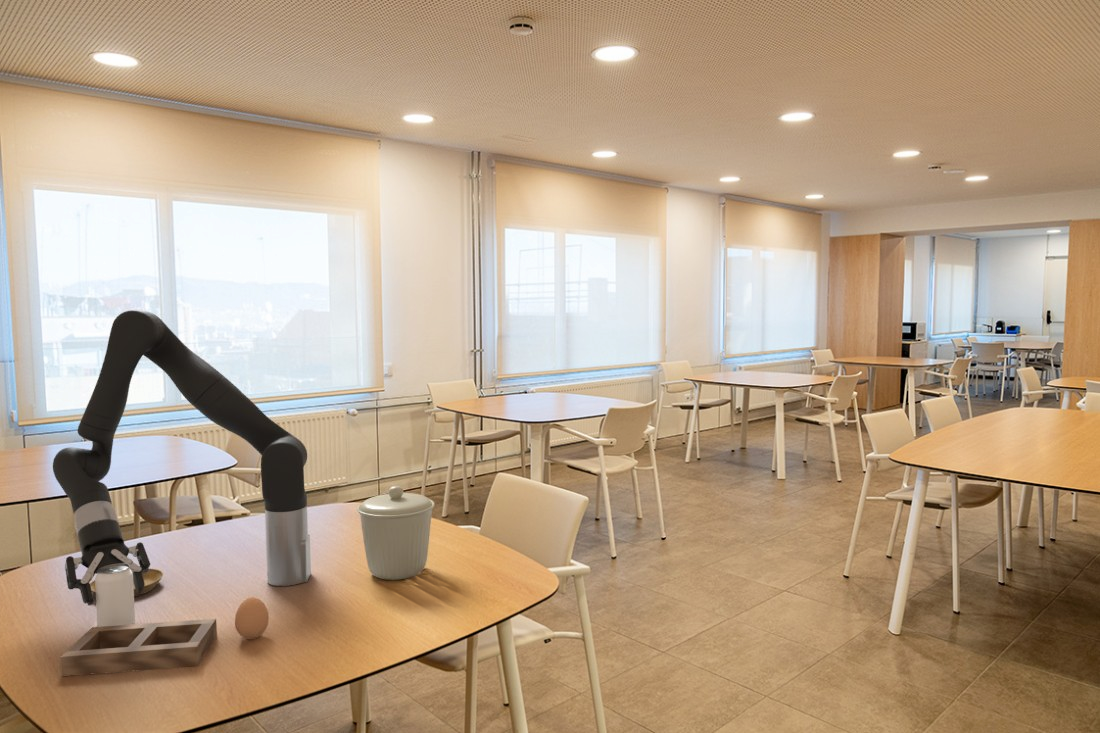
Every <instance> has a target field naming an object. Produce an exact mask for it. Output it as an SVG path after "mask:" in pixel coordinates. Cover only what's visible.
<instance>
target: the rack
mask: <svg viewBox="0 0 1100 733" xmlns="http://www.w3.org/2000/svg"><path fill="white" fill-rule="evenodd" d="M217 632H218V629H217V618H206V619H193V620H177V621H176V620H175V621H164V622H163V621H162V622H149V623H134V624H132V625H118V626H104V627H98V626H91V627H90V628H89V629H88V630H87V632H85V633H84V634H83V635H82V636H81V637H80V638H78V640H77V641H76V642H75V643H73V645H71V646H70V647H69V648H68V649H67V650H65V652H64V653H63V654H62V655H61V656H60V657H59V658H60V673H61V677H62V676H63V677H71V676H70V675H75V676H84V675H83V674H88V675H92V674H91V673H100V674H106V673H105V672H108V673H107V674H109V672H113V673H122V672H121V671H125V672H133V671H132V670H135V671H136V670H138V671H149V670H160V669H161V668H162V669H163V670H164V669H173V668H176V669H177V668H186V667H187V668H189V667H198V666H199V664H200V662H201V661H202V659H203V658H204V657H205V656H206V654H207V652H208V651H209V650H210V647H211V646H212V644H213V643H214V641H215V640H216V638H217V637H218V633H217ZM135 671H134V672H135ZM136 672H137V671H136Z"/></svg>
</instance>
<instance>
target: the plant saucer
mask: <svg viewBox="0 0 1100 733" xmlns="http://www.w3.org/2000/svg"><path fill="white" fill-rule="evenodd" d="M142 576H143V580H144V583H145V585H144V588H143V590H142V592H141V593H139V594H137V593H136V590H135V586H134V582H133V587H134V597H136V596H137V597H138V596H140V594H141V595H143V594H146V593H148V592H149V590H150V591H151V590H153V589H154V588H156V586H157V585H158V584H159V582H160V581H161V580H162V579H163V576H164V572H163V571H162V570H160V569H156V568H149V570H148V572H146V573H143V574H142ZM89 583H90V586H91V591H92V594H94V595H95V596H96V591H95V579H94V580H91V581H90V582H89ZM147 591H148V592H147ZM145 592H146V593H145Z"/></svg>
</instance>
